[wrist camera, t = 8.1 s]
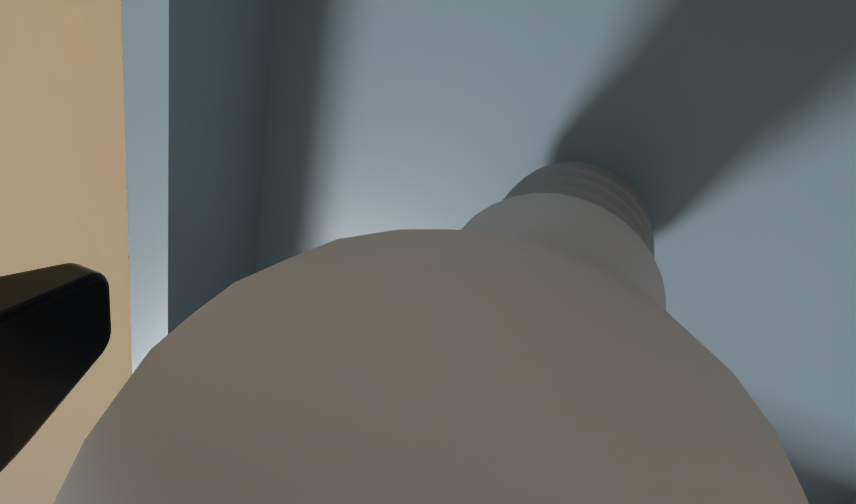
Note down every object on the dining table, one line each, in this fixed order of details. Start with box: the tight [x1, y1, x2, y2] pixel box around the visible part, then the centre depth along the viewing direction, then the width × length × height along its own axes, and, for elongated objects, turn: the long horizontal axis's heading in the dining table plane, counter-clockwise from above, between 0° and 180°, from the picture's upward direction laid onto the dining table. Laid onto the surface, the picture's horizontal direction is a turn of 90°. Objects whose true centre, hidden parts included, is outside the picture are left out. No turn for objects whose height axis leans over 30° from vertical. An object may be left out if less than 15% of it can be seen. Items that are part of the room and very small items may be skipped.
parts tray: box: [121, 0, 856, 504], centre depth 12 cm, size 14×14×4 cm
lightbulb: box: [54, 162, 809, 504], centre depth 8 cm, size 6×6×11 cm
